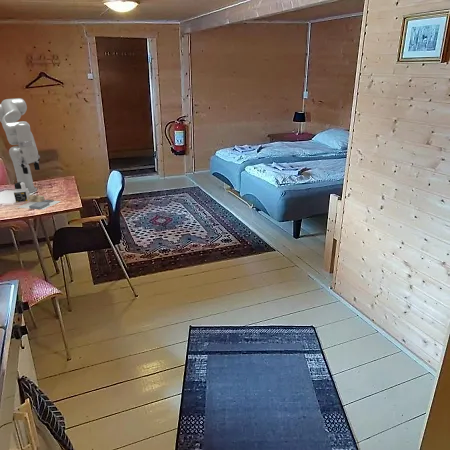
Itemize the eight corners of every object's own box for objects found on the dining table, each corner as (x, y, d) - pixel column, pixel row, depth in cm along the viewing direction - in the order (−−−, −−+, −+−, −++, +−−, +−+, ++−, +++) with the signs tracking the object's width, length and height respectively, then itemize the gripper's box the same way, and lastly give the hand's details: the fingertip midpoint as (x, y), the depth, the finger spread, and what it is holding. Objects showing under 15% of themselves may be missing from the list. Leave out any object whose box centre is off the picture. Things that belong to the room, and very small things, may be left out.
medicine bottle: (15, 203, 259) (11, 184, 255) (18, 199, 266) (14, 182, 261) (27, 201, 260) (23, 183, 256) (30, 198, 267) (26, 180, 262)
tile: (29, 205, 244) (39, 206, 242) (38, 201, 251) (49, 202, 249) (29, 208, 245) (40, 209, 243) (39, 204, 252) (49, 205, 250)
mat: (16, 208, 248) (16, 207, 248) (35, 200, 262) (35, 199, 262) (43, 210, 242) (43, 209, 242) (61, 202, 256) (61, 201, 256)
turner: (28, 202, 258) (26, 196, 256) (33, 199, 262) (32, 194, 261) (48, 203, 253) (47, 198, 251) (54, 201, 257) (53, 195, 256)
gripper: (20, 146, 236) (26, 175, 242) (40, 141, 251) (46, 168, 258) (9, 146, 238) (16, 175, 244) (31, 141, 253) (36, 168, 260)
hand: (31, 171), depth 251 cm, fingers open, 9 cm apart
